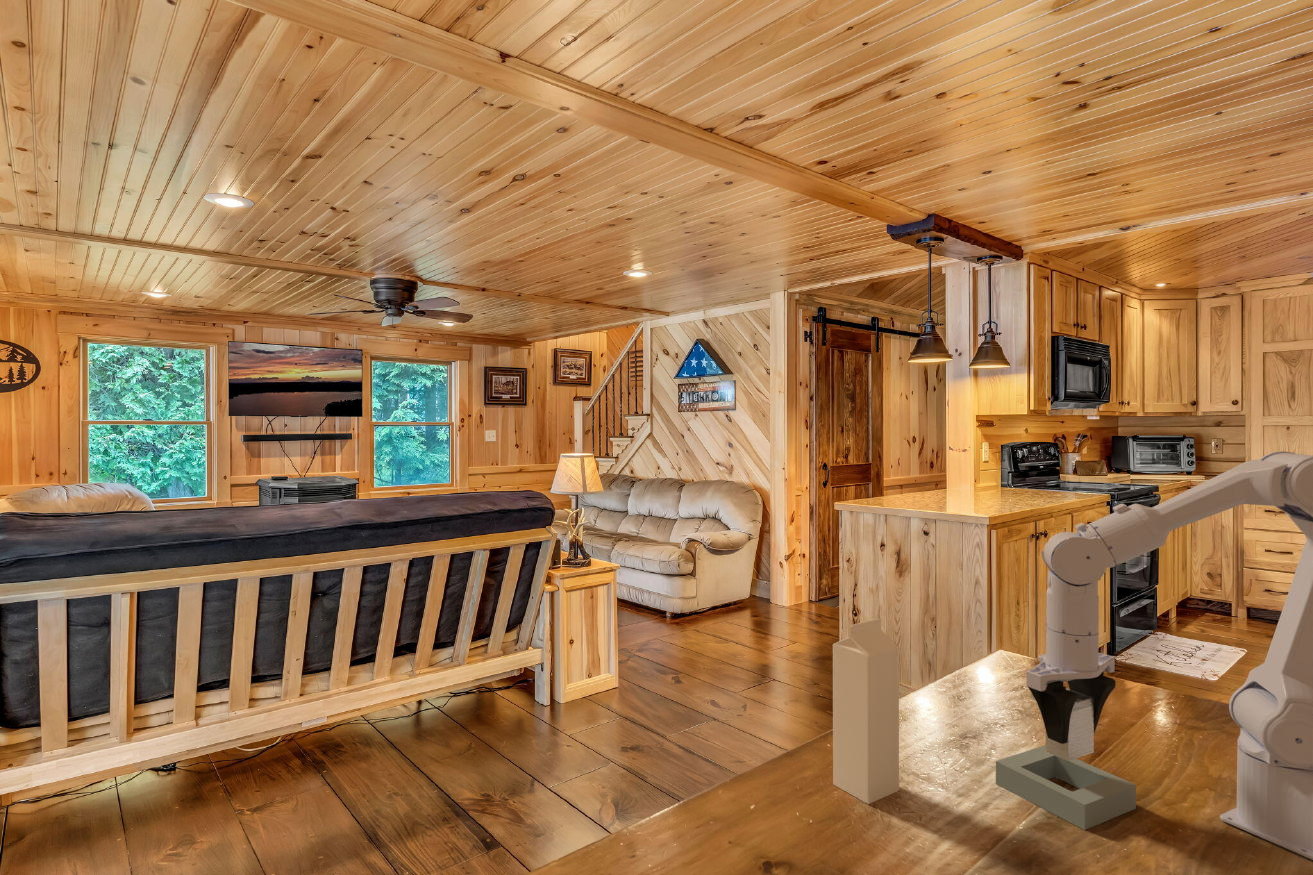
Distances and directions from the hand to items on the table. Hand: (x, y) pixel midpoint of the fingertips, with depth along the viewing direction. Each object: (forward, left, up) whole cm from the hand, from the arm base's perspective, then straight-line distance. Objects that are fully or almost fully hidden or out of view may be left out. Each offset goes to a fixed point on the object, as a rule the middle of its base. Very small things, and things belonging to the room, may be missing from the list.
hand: (1071, 735), depth 90 cm
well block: (+1, 0, -8) cm, 8 cm away
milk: (+14, +21, -8) cm, 27 cm away
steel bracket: (0, 0, -2) cm, 2 cm away
